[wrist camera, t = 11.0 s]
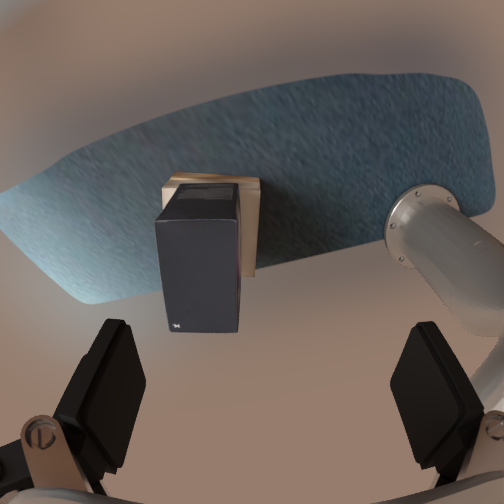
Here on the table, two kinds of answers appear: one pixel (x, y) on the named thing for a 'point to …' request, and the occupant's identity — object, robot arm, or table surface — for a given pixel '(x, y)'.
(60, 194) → the table surface
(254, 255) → the ash slab
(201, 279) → the small box
